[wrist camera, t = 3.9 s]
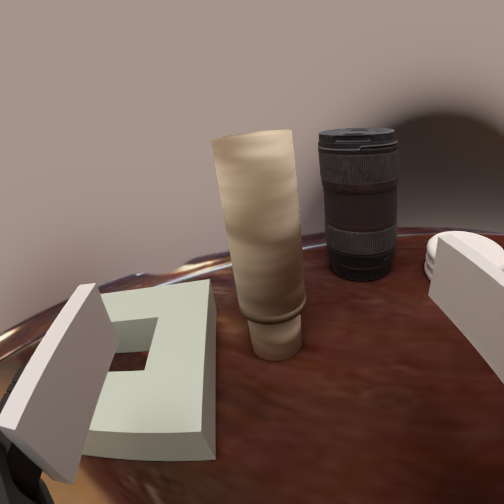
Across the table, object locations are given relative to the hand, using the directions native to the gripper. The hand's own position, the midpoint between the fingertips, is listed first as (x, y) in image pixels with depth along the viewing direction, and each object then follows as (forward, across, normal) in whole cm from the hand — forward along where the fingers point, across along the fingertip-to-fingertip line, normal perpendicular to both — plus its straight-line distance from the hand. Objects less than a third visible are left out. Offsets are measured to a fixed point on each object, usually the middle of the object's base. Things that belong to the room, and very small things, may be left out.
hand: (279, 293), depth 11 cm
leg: (+10, +1, -11) cm, 15 cm away
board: (+8, -11, -11) cm, 18 cm away
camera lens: (+20, +12, -11) cm, 25 cm away
